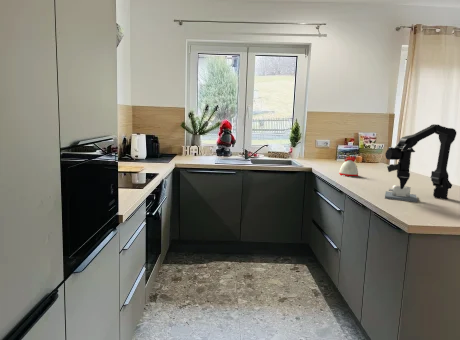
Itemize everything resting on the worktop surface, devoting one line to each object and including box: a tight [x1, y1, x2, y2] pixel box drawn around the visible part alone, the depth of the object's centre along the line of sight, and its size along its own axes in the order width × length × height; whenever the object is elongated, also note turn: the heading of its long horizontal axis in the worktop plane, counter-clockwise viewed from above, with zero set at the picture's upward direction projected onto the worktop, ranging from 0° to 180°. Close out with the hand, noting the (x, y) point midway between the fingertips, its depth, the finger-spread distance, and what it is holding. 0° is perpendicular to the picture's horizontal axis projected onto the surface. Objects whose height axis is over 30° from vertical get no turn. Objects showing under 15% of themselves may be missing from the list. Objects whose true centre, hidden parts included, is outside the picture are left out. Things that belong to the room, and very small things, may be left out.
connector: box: [388, 185, 412, 197], centre depth 205 cm, size 11×4×5 cm, turn 65°
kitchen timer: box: [338, 156, 359, 177], centre depth 281 cm, size 14×14×15 cm
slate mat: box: [384, 190, 418, 203], centre depth 205 cm, size 16×16×1 cm
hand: (401, 187), depth 204 cm, fingers open, 9 cm apart
